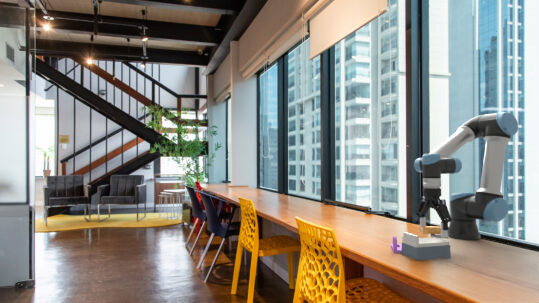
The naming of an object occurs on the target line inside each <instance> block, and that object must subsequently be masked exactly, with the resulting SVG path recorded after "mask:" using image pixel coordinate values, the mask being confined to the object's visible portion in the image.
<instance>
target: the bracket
mask: <svg viewBox="0 0 539 303" xmlns="http://www.w3.org/2000/svg"><path fill="white" fill-rule="evenodd" d="M390 249H391V250H392V252H393V254H402V243H398V236H395V235H393V236H392V243H390Z"/></svg>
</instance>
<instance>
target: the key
mask: <svg viewBox="0 0 539 303" xmlns="http://www.w3.org/2000/svg"><path fill="white" fill-rule="evenodd" d="M420 232H421V234H422V235H430V236H429V237H435V238H439V239H442V238H441V226H434V225H433V226H432V225H429V226H428V225H426V226H421V231H420ZM447 236H448V237H446V238H444V240H445V239H447V240H448V239H449V238H450V237H449V235H447Z"/></svg>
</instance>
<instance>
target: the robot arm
mask: <svg viewBox="0 0 539 303" xmlns="http://www.w3.org/2000/svg"><path fill="white" fill-rule="evenodd" d="M518 130H519V123H518V120H517V118H516V117H515V116H514V115H513V113H511V112H508V111H505V112H504V111H503V112H501V111H499V112H495V113H485V114H480V115H476V116H474V117H473V118H470V119H468V120H467V121H465V122H464V123H463V124H461V125H460V126H459V127H458V128H457V129H456V132H454V133H453V134H452V135H450V137H448V138H447V139H446V140H445V141H443V142H442V143H441V144H440V145H438V146H436V148H434V149H433V150H432V151H430V152H429V153H424V154H423V155H422V157H418V158H416V159H415V160H414V163H413V166H414V170H415V171H416V172H418V173H422V186H423V188H422V193H423V194H422V195H423V196H420V197H419V203H418V205H417V209H416V212H415V215H416V216H418V217H419V218H418V220H419V231H420V232H421V226H427V218H426V215H427V213H428V211H429V210H430V208H431V209H434V210H435V211H436V213H437V215H438V217H439V219H440V227H441V234H440V235H441V238H440V239H445V238H446V237H448V236H447V235H449V238H451V239H458V240H467V241H475V240H480V239H481V233H480V232H479V227H478V225H477V220H479V221H486V222H494V223H498V222H501V221H503V219H505V218H506V216H507V214H508V212H509V205H508V201H507V200H506V199H505V197H504V194H503V193H502V192H501V190H502V189H501V188H502V183H503V182H502V180H503V172H504V165H505V164H504V163H505V157H506V150H507V148H506V147H507V144H508V143H509V142H510V141H511V140H512V139H511V138H512V136H514V135H516V134H517V133H518ZM480 138H482V139H483V141H484V142H485V146H484V147H485V148H484V154H483V162H482V163H483V164H482V170H481V176H480V186H479V188H478V189H477V190H476V191H475V192H460V193H459V192H456V193H451V194H450V198H449V203H450V204H449V206H450V212H449V209H448V206H447V200H446V199H444V198H443V199H440V197H442V188H441V187H442V175H443V174H444V175H447V174H451V175H454V174H458V173H459V172H461V170H462V168H463V166H462V164H463V163H462V161H461V160H460V159H459V158H458V157H453V154H455V153H456V152H457V151H459V150H460V149H461V148H462V147H464V146H465V145H466V144H467V143H471V142H473V141H474V140H476V139H480ZM451 156H452V157H451Z"/></svg>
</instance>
